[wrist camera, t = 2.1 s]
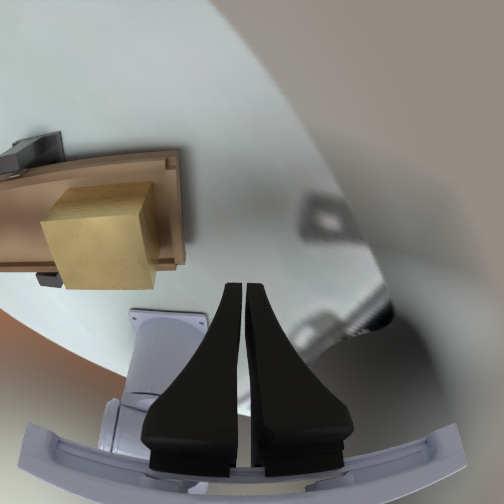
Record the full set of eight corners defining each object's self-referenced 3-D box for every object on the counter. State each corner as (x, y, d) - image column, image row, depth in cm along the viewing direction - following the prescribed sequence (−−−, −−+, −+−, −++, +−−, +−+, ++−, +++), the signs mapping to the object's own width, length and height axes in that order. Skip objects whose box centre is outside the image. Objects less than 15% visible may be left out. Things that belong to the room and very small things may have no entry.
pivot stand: (90, 258, 23) (72, 289, 20) (49, 256, 22) (30, 284, 19) (60, 131, 16) (28, 150, 13) (16, 141, 15) (-15, 160, 12)
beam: (185, 255, 21) (184, 271, 20) (-29, 261, 18) (-37, 272, 17) (178, 148, 16) (175, 158, 15) (-56, 191, 13) (-67, 201, 12)
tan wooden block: (161, 248, 19) (153, 289, 16) (84, 250, 18) (66, 289, 15) (152, 181, 16) (138, 214, 13) (67, 189, 15) (39, 221, 12)
